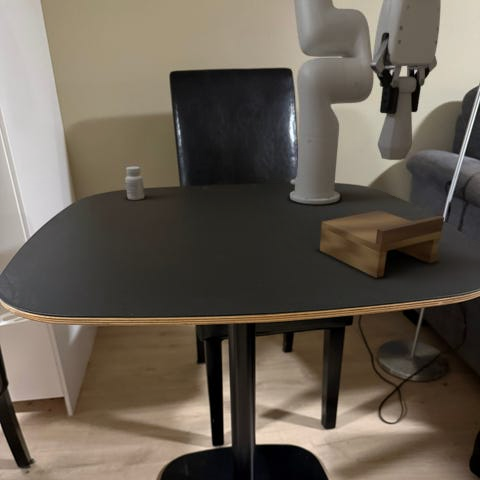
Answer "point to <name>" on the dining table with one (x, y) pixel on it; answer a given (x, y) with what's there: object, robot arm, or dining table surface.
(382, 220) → the shelf
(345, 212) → the dining table surface
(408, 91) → the salt shaker
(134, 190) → the pill bottle
